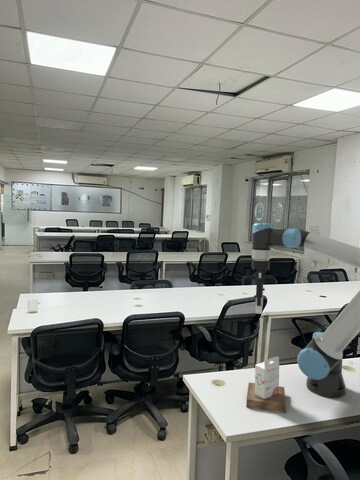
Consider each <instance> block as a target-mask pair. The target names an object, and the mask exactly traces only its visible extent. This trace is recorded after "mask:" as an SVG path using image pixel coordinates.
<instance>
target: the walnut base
mask: <svg viewBox="0 0 360 480" xmlns="http://www.w3.org/2000/svg"><path fill="white" fill-rule="evenodd" d="M245 406H246V408H250V409H256V410H257V409H258V410H263V411H270V412H277V413H283V414H286V411H287V409H286V408H287V401H286V392H285V386H281V385H279V393H278V394H275V395H273V396H271V397H268V398H266V399H263V398H261V397H259V396H257V395H255V382H248V386H247V395H246V405H245Z"/></svg>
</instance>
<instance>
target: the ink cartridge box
mask: <svg viewBox="0 0 360 480" xmlns="http://www.w3.org/2000/svg"><path fill="white" fill-rule="evenodd" d="M254 365H255V367H254V371H255V372H254V383H255V395H257V396H259V397H261V398H263V399H266V398H268V397H271V396H273V395H275V394H278V393H279V386H280V356H279V355H278V356H275V357H271V358H268V359H266V360H264V361H263V362H260V363H257V364H254Z"/></svg>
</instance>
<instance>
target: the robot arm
mask: <svg viewBox="0 0 360 480" xmlns="http://www.w3.org/2000/svg"><path fill="white" fill-rule="evenodd" d="M251 237H252V239H251V241H252V243H251V245H252V246H251V251H250V254H251V258H252V260H251V269H252V270H257V272H255V273H254V274H255V284H256V288H255V295H254V296H253V298H255V305H254V306H255V309H254V310H255V311H254V313H255V314H256V315H257V314H261V315H262V314H263V305H264V292H265V291H266V290H265V287H264V285H265V279H266V273H265V272H264V271H269V270H270V268H271V267H270V265H271V262H270V259H271V247H277V248H287V249H295V248H300V249H303V250H306V251H309V252H311V253H315V254H318V255H320V256H323V257H326V258H329V259H332V260H334V261H338V262H340V263H343V264H345V265H349V266H352V267H354V268H357V269H360V247H358V246H354V245H351V244H349V243H346V242H342V241H339V240H336V239H333V238H330V237H327V236H324V235H320V234H317V233H314V232H310V231H307V230H306V229H304V228H301V227H300V228H299V227H294V228H275V227H272V224H271V223H269V222H268V223H266V222H263V223H261V222H256V223H254V224H252V236H251ZM359 333H360V290H359V291H357V293H356V294H355V295H354V296H353V297H352V299H351V300H350V301H349V302H348V304H347V305H346V306H345V307H344V308H343V309H342V310H341V311H340V313H339V314H338V315H337V317H335V318H334V320H332V322H331V323H330V325H329V326H328V327H327V328H326V330H325V331H324V332H323V331H321V332H320V331H317V332H313V334H312V339H311V340H310V341H309V343H308V344H307V345H306V346H305V347H304V348H303V349H301V350H300V352H299V353H298V355H297V358H296V359H297V360H296V361H297V366H298V367H299V369H300V371H301V373H302V374H303V375H305V376H306V377H307V378H306V388H307V389H308V390H309V391H310V392H312V393H314V394H316V395H318V396H322V397H326V398H342V397H343V396H345V395H346V390H347V387H346V383H345V379H344V377H343V356H344V355H343V354H344V350H345V349H346V347H347V346H348V345H349V344H350V343H351V342H352V340H354V339H355V337H357V335H358V334H359Z"/></svg>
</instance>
